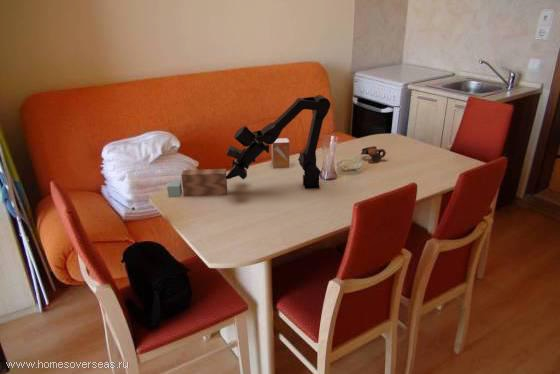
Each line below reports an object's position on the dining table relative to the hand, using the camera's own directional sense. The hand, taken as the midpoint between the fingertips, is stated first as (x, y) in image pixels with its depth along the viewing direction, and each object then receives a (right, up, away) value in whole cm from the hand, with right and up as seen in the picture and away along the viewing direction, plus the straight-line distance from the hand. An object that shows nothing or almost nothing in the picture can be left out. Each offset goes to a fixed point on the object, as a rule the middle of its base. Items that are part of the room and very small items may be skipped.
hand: (226, 178), depth 182 cm
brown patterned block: (-9, -6, +3) cm, 11 cm away
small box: (+23, +7, +30) cm, 38 cm away
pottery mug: (+69, +10, +35) cm, 78 cm away
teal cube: (-22, -7, +2) cm, 23 cm away
